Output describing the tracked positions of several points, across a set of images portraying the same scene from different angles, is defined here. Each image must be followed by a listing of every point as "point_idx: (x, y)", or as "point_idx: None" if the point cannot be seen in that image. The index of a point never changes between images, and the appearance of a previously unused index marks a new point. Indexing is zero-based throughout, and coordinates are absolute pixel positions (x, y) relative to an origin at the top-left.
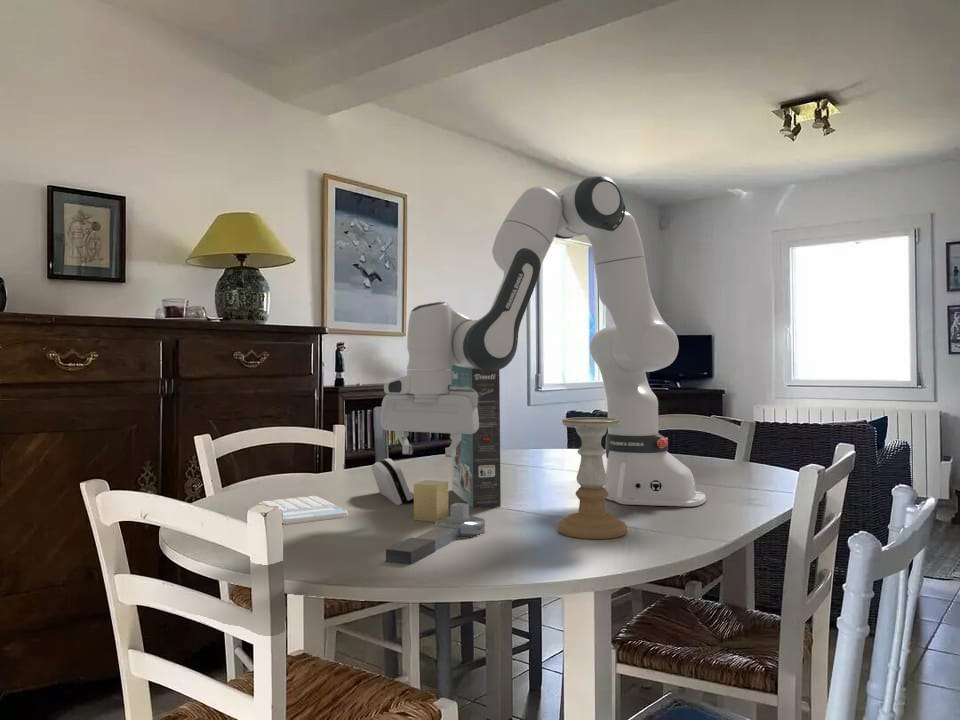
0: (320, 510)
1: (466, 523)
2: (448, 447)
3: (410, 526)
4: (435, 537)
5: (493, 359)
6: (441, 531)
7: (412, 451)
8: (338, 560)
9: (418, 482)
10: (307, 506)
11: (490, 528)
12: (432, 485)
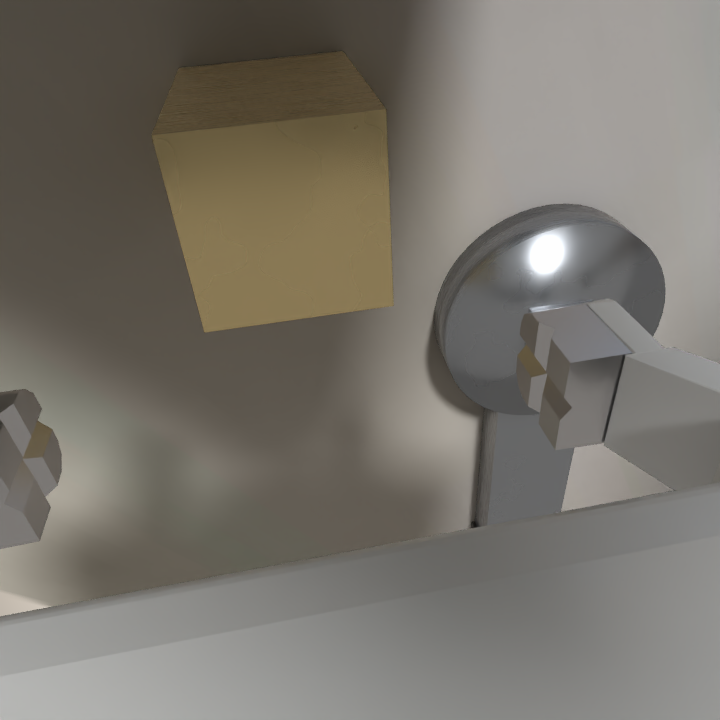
0: None
1: None
2: (575, 399)
3: (289, 330)
4: (545, 511)
5: None
6: (535, 458)
7: (24, 411)
8: None
9: (188, 267)
10: None
11: (650, 191)
12: (360, 310)
